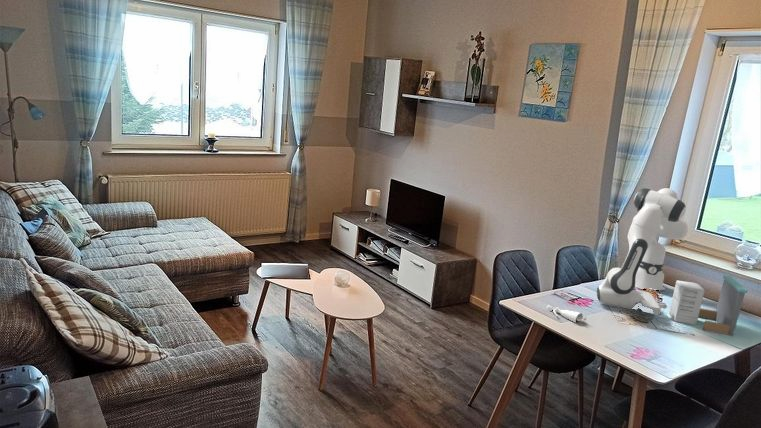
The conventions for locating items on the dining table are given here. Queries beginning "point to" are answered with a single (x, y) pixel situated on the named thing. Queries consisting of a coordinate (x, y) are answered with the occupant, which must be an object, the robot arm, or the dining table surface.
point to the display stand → (725, 308)
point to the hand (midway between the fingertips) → (665, 305)
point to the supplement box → (686, 302)
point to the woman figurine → (567, 314)
